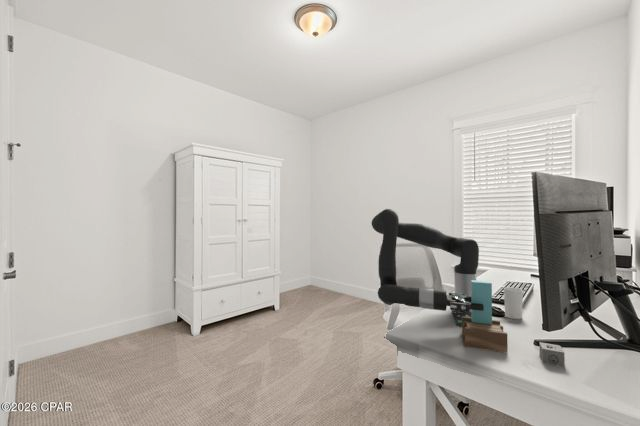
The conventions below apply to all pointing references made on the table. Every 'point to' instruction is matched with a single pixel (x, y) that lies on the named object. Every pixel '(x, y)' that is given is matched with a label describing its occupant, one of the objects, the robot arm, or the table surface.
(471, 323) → the oak offcut middle
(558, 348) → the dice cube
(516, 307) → the mug
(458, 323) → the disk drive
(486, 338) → the walnut rack
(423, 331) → the table surface
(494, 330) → the oak offcut front
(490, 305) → the teal board
